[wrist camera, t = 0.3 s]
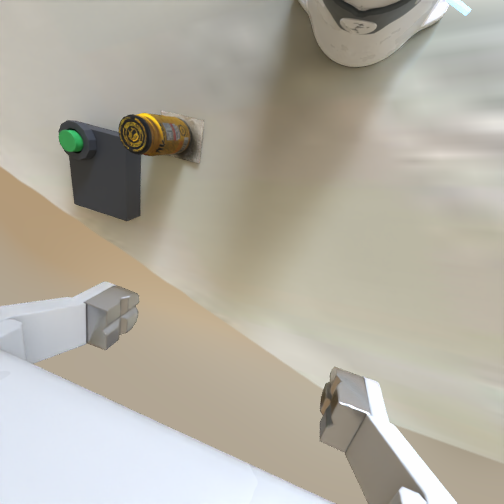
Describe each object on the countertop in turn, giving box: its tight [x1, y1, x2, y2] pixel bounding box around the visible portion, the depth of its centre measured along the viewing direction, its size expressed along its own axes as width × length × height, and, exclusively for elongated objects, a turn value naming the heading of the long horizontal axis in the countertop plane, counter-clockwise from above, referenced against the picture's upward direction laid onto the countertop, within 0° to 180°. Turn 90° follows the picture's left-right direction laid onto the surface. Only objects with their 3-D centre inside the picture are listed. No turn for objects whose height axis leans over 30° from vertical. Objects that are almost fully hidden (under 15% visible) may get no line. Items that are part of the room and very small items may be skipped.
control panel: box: [59, 120, 141, 221], centre depth 51 cm, size 17×13×6 cm
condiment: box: [119, 111, 204, 163], centre depth 42 cm, size 7×8×12 cm
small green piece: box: [59, 130, 83, 152], centre depth 46 cm, size 4×4×2 cm
